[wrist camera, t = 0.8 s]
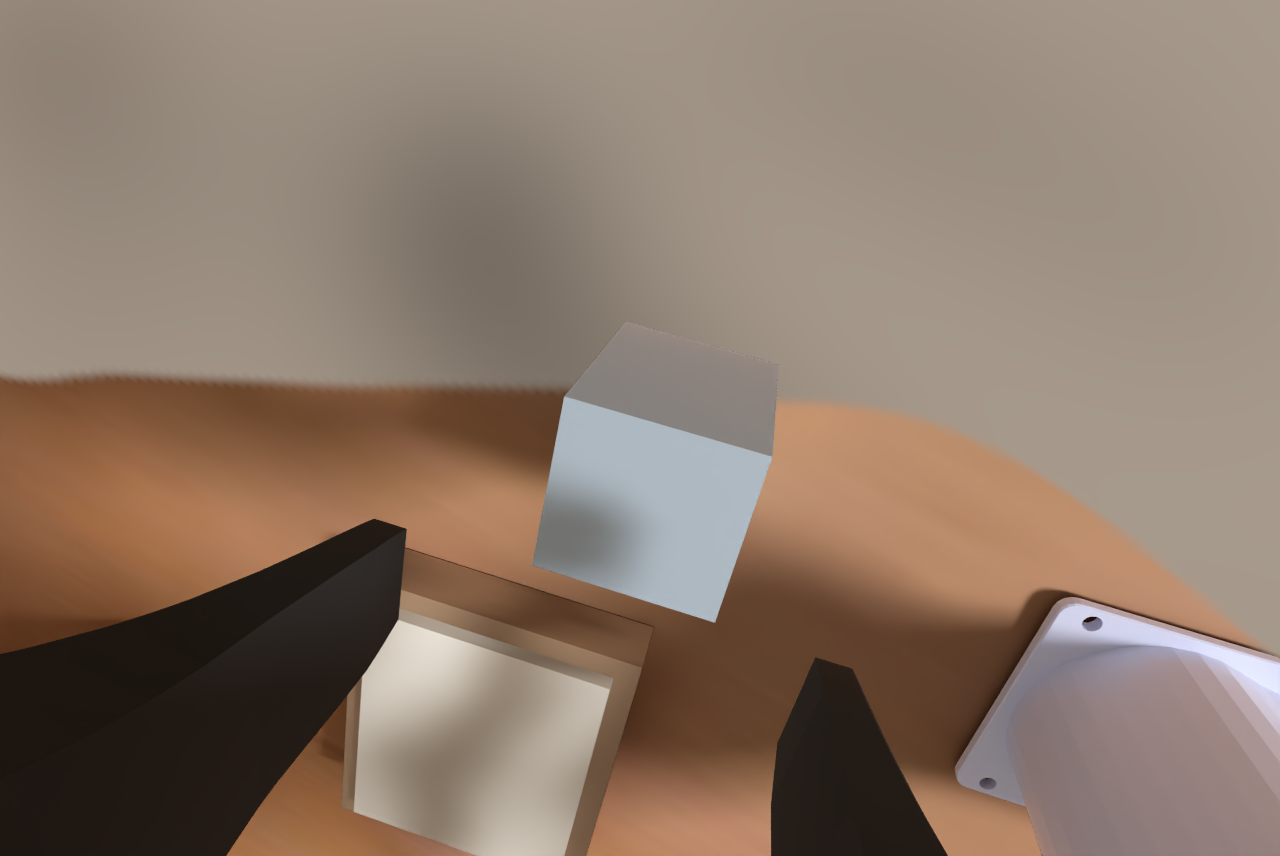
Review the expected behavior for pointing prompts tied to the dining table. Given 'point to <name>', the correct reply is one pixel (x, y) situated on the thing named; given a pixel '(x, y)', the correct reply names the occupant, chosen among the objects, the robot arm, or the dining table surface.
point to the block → (659, 469)
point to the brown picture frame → (491, 714)
